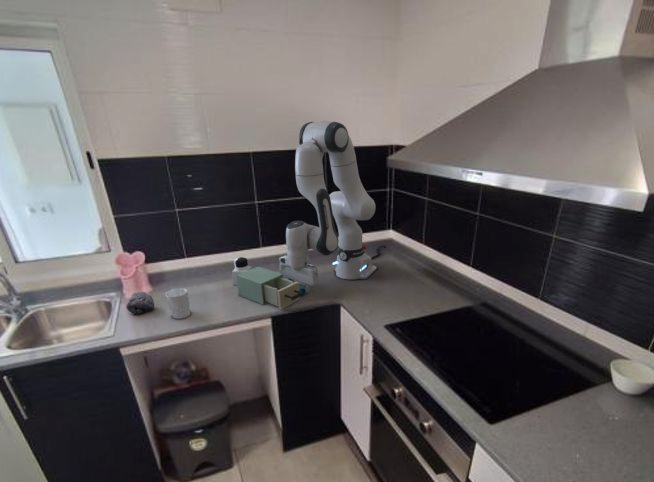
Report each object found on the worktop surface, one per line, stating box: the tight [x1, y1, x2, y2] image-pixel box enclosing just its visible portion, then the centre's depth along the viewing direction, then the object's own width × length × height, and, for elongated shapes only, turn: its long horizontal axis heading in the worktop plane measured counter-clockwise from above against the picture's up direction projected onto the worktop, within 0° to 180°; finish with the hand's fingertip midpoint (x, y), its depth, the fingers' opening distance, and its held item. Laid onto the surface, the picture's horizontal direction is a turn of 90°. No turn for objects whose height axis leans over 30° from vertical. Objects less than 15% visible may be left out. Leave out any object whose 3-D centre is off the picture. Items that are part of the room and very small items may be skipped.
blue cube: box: [299, 283, 308, 297], centre depth 168 cm, size 4×4×4 cm
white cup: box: [165, 287, 191, 320], centre depth 150 cm, size 8×8×10 cm
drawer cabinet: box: [236, 266, 284, 305], centre depth 166 cm, size 16×13×10 cm
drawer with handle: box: [262, 277, 305, 310], centre depth 159 cm, size 19×11×8 cm, turn 53°
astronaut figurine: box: [231, 256, 253, 286], centre depth 177 cm, size 7×7×12 cm
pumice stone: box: [125, 291, 156, 315], centre depth 155 cm, size 10×8×10 cm
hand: (300, 289), depth 168 cm, fingers open, 6 cm apart
